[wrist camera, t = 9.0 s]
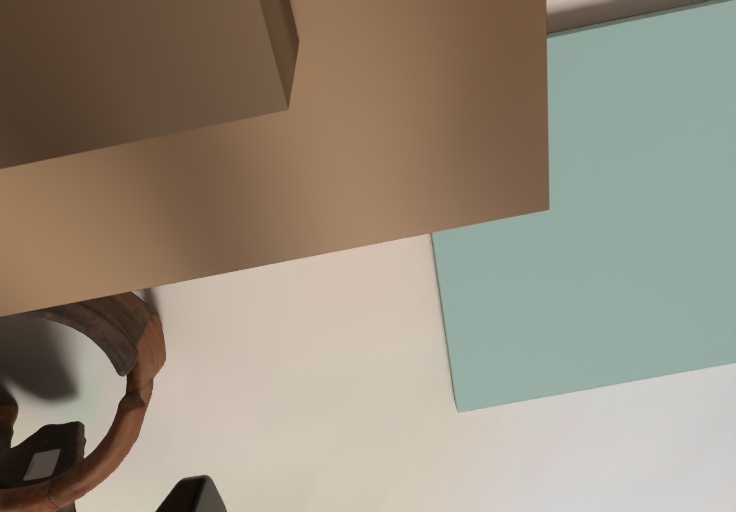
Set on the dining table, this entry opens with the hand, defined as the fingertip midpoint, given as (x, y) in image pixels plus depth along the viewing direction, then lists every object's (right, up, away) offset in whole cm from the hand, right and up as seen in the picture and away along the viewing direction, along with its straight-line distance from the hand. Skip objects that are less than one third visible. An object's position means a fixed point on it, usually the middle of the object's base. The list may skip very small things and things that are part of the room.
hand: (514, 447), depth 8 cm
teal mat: (+8, +4, +13) cm, 15 cm away
